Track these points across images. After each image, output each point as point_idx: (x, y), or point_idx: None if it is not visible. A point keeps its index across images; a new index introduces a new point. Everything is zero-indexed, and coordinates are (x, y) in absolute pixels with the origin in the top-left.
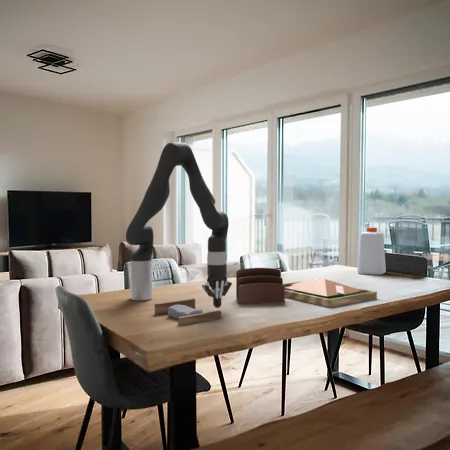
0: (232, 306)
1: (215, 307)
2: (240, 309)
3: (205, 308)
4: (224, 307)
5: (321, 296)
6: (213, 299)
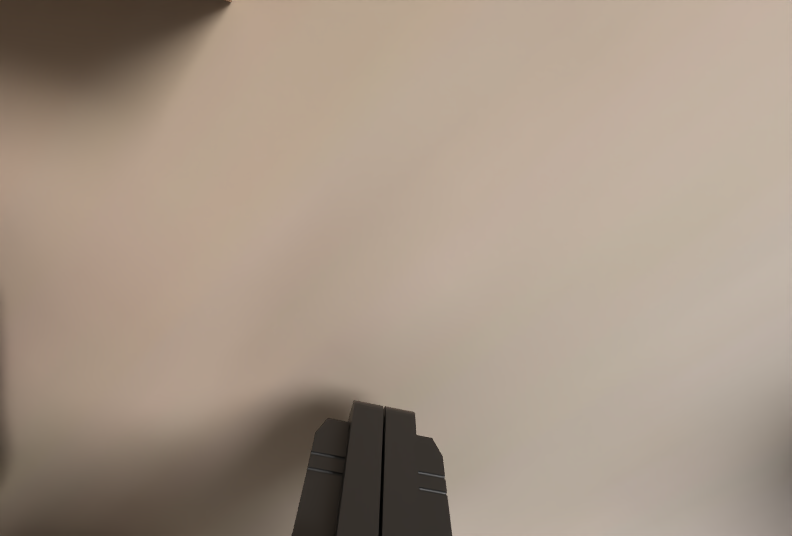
0: (766, 359)
1: (349, 420)
2: (641, 519)
3: (401, 128)
4: (645, 316)
5: None
6: (294, 525)
